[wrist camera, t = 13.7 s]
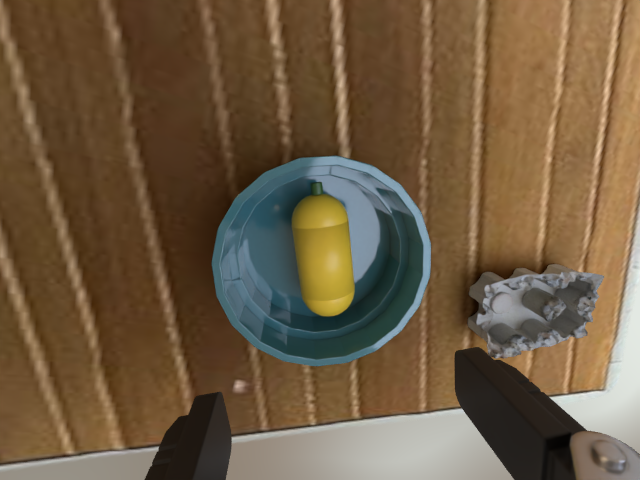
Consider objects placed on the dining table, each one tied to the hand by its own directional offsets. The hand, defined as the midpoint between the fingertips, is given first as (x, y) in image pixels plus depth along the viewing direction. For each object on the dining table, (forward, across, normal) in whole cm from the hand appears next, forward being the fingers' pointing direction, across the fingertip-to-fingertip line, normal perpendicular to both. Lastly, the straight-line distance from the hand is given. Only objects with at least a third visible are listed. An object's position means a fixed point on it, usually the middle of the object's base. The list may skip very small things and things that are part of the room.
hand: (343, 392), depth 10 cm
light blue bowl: (+17, -1, 0) cm, 17 cm away
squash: (+17, -1, 0) cm, 17 cm away
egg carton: (+17, -20, +8) cm, 28 cm away
